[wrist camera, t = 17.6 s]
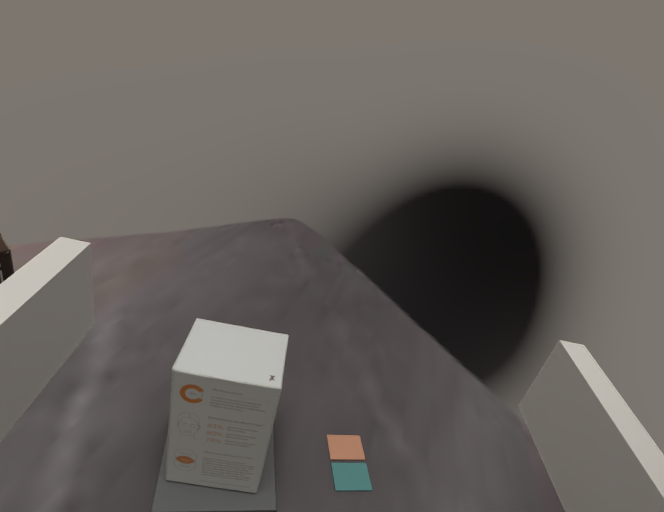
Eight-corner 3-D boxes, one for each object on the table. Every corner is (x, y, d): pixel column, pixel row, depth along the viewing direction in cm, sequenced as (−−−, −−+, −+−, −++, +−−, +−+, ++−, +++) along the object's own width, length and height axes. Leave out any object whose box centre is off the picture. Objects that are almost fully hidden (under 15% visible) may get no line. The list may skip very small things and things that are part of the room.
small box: (267, 434, 43) (291, 333, 37) (257, 495, 38) (283, 389, 32) (185, 420, 43) (195, 315, 37) (162, 481, 37) (170, 369, 31)
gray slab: (271, 417, 46) (272, 413, 46) (275, 513, 38) (276, 509, 37) (171, 414, 44) (171, 410, 43) (151, 516, 35) (151, 512, 35)
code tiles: (359, 436, 47) (359, 435, 47) (371, 490, 41) (372, 490, 41) (326, 435, 46) (326, 434, 46) (335, 491, 41) (335, 490, 41)
